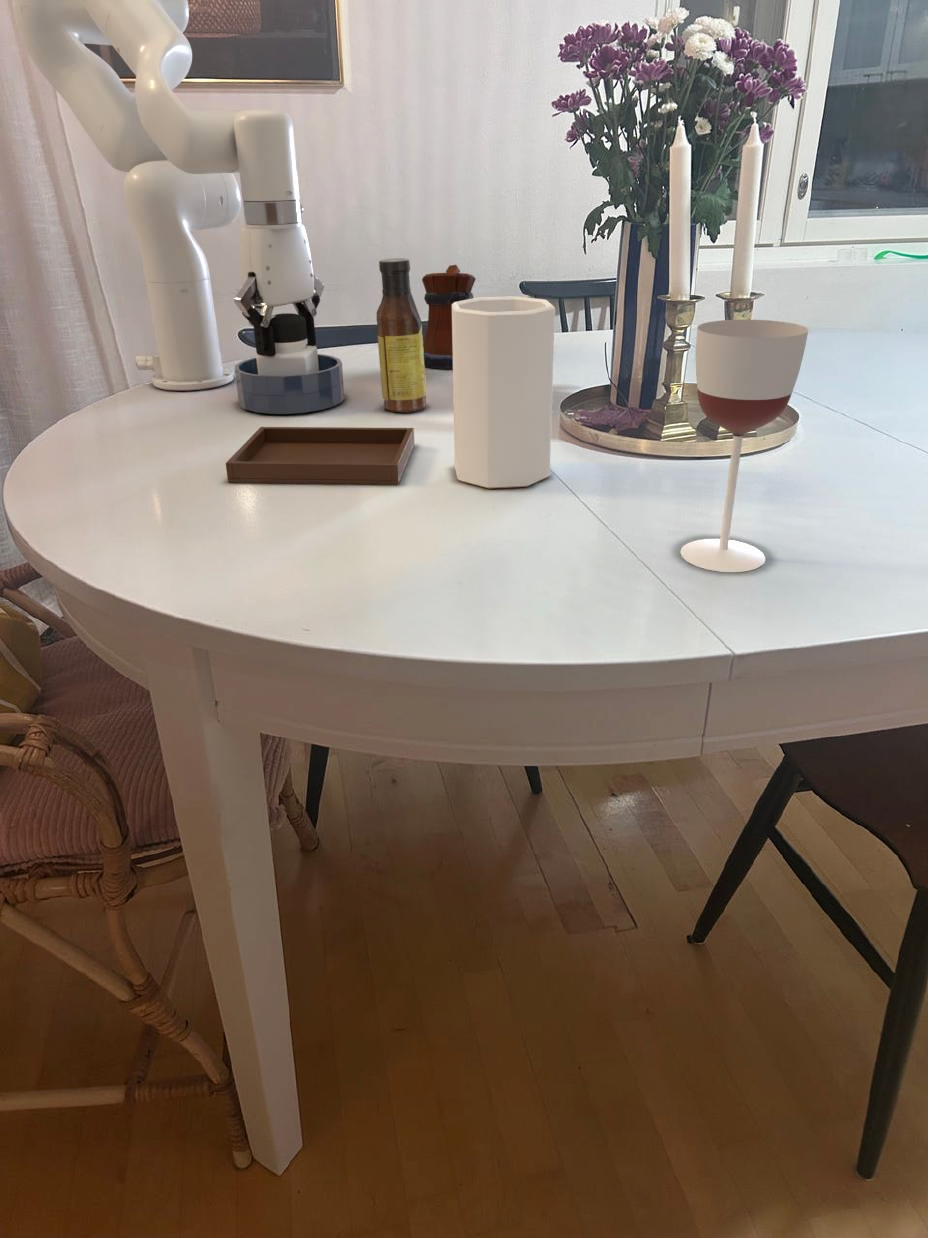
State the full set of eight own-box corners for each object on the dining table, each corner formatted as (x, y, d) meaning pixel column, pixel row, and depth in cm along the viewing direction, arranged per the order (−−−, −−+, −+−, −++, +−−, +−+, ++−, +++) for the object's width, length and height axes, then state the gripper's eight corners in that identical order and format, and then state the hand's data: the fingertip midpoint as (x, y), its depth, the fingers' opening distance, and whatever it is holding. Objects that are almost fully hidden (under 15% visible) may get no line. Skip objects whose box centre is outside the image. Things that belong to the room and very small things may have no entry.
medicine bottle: (321, 394, 136) (314, 310, 130) (309, 406, 129) (301, 319, 124) (275, 393, 136) (266, 310, 131) (261, 405, 130) (250, 319, 124)
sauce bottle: (435, 407, 129) (431, 258, 120) (404, 416, 125) (396, 263, 116) (404, 400, 133) (397, 255, 124) (372, 408, 129) (363, 259, 120)
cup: (482, 496, 97) (481, 316, 88) (436, 467, 105) (431, 301, 97) (569, 479, 101) (576, 306, 92) (518, 452, 110) (521, 292, 101)
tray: (228, 482, 102) (225, 463, 101) (262, 444, 114) (260, 426, 113) (398, 484, 100) (397, 464, 99) (414, 445, 113) (413, 427, 112)
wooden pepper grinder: (424, 347, 166) (421, 260, 159) (486, 347, 165) (486, 260, 158) (413, 370, 150) (409, 274, 143) (482, 369, 149) (482, 273, 142)
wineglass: (663, 539, 86) (684, 321, 76) (753, 535, 86) (785, 318, 77) (689, 575, 79) (715, 339, 69) (786, 570, 79) (825, 335, 70)
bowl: (226, 415, 127) (220, 376, 124) (256, 389, 140) (251, 352, 138) (332, 416, 126) (329, 376, 123) (352, 389, 139) (350, 353, 136)
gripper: (297, 210, 129) (309, 337, 138) (203, 219, 117) (222, 358, 125) (337, 211, 125) (346, 342, 134) (244, 221, 113) (261, 364, 121)
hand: (286, 349), depth 129 cm, fingers closed on medicine bottle, 7 cm apart
